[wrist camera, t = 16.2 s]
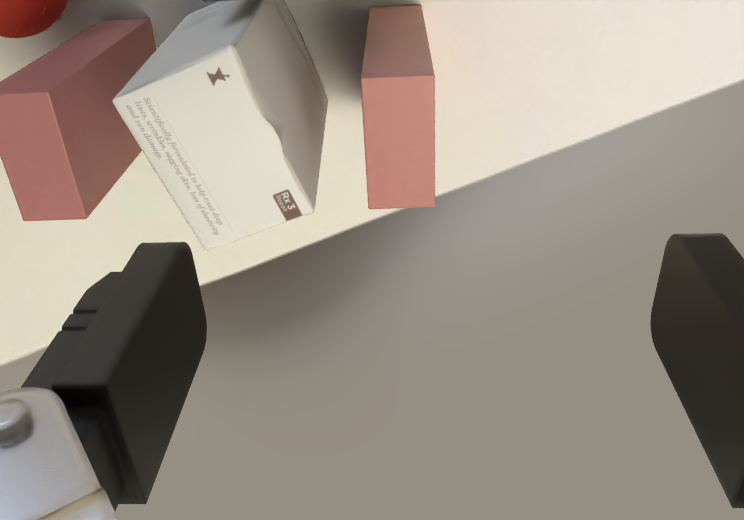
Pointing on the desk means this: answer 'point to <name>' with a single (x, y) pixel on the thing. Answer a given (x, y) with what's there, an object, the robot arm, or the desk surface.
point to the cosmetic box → (231, 119)
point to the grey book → (215, 0)
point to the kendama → (28, 16)
